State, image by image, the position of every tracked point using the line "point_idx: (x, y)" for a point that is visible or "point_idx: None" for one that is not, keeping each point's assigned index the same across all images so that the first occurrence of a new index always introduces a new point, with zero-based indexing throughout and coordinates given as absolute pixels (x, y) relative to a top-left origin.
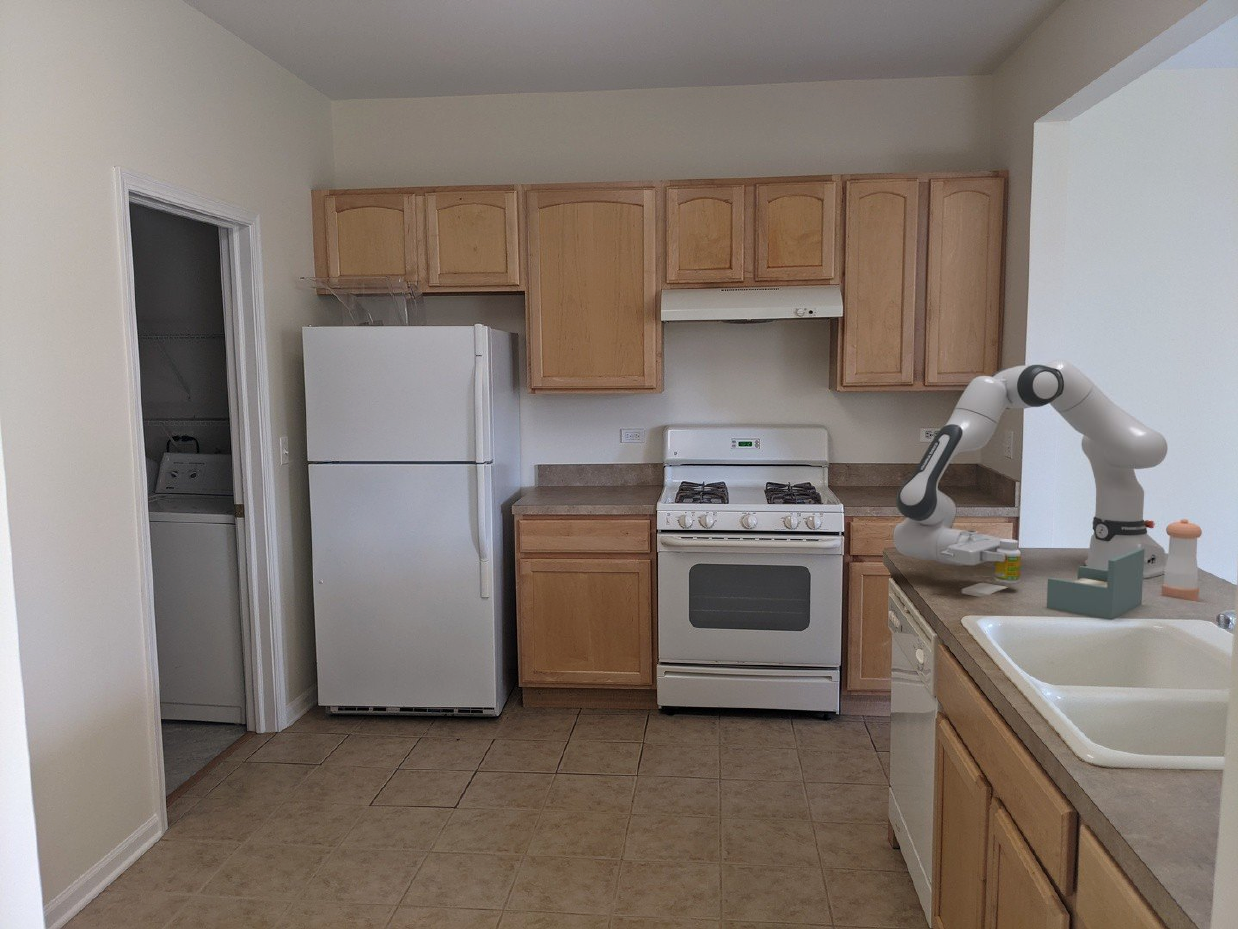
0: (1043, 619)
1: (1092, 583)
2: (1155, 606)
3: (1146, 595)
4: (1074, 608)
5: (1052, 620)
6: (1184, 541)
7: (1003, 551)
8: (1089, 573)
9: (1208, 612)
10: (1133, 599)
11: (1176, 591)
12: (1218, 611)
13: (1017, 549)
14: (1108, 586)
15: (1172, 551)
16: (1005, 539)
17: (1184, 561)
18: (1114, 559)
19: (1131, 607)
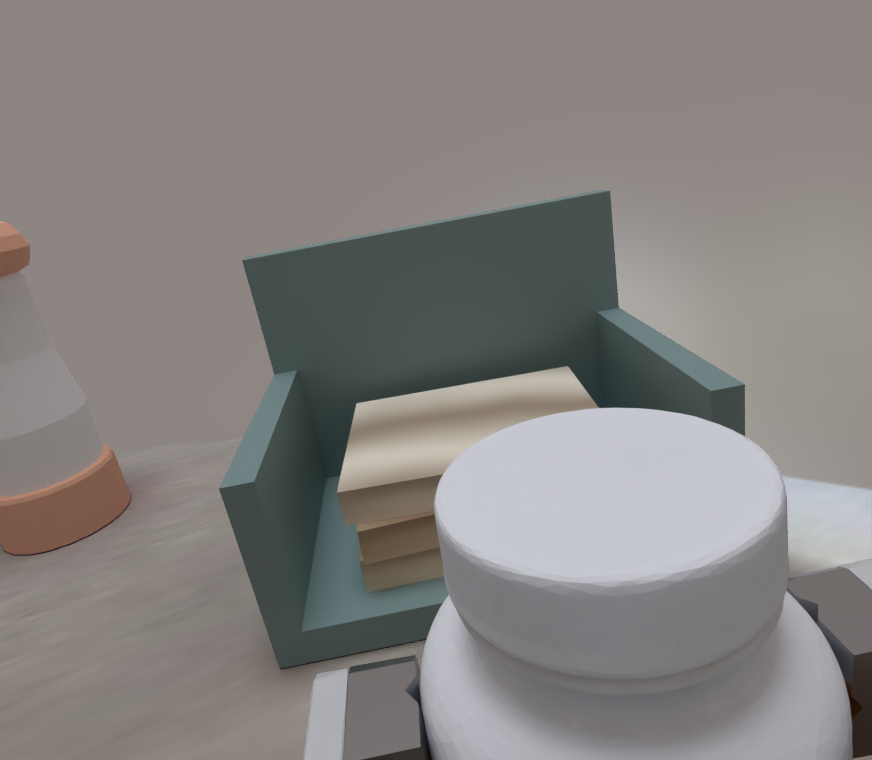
0: (833, 534)
1: (429, 433)
2: (210, 507)
3: (8, 591)
4: None
5: (793, 515)
6: (25, 282)
7: (788, 599)
8: (275, 476)
9: (205, 447)
10: None
11: (111, 466)
12: (176, 446)
13: (323, 681)
14: (616, 297)
15: (18, 339)
16: (564, 539)
17: (60, 357)
18: (574, 196)
19: None
